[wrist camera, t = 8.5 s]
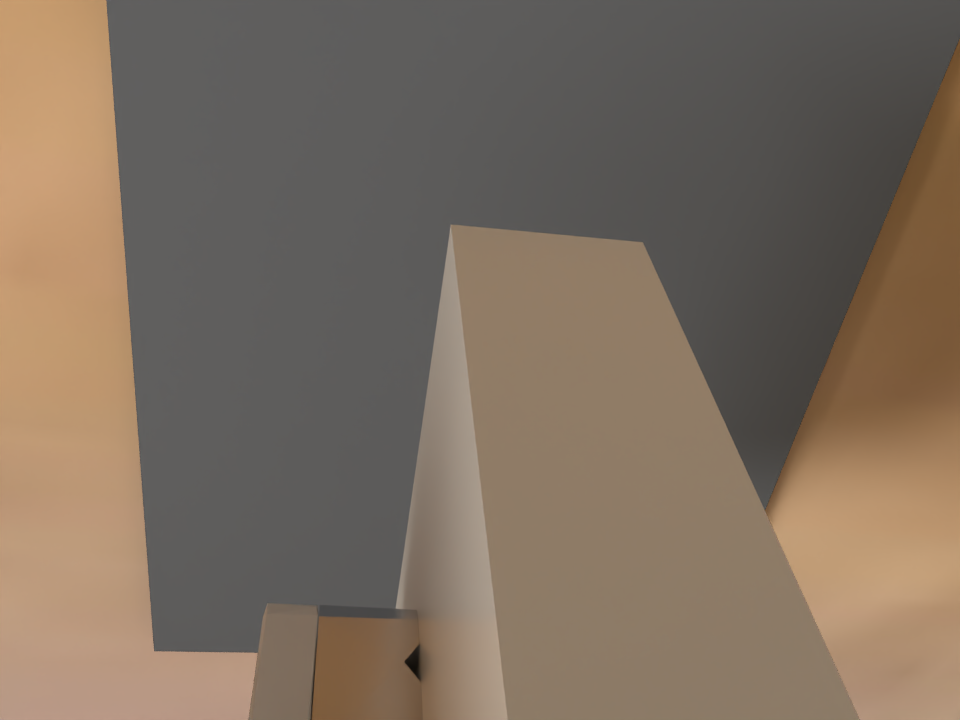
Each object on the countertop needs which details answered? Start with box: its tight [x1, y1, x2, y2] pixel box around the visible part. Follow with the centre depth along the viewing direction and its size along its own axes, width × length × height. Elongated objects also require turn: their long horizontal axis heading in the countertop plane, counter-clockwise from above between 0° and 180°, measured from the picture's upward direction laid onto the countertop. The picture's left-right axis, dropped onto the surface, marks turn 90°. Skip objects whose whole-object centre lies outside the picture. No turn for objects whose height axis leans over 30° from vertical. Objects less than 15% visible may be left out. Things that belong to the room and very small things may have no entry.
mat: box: [106, 0, 960, 653], centre depth 15 cm, size 16×12×1 cm
